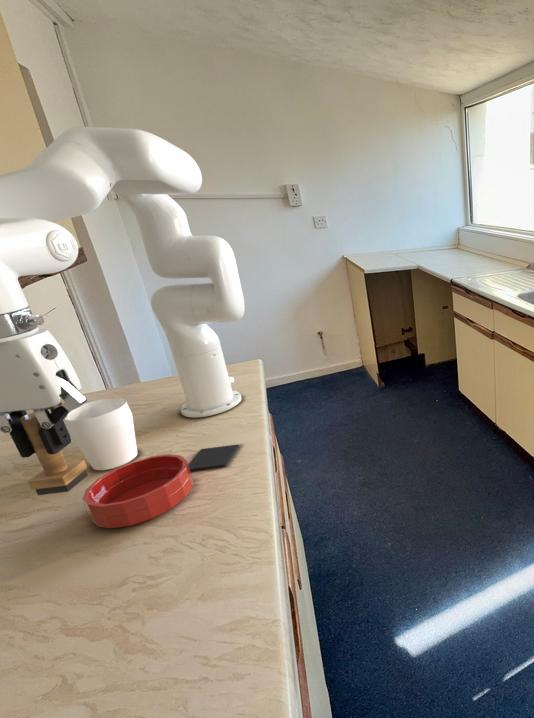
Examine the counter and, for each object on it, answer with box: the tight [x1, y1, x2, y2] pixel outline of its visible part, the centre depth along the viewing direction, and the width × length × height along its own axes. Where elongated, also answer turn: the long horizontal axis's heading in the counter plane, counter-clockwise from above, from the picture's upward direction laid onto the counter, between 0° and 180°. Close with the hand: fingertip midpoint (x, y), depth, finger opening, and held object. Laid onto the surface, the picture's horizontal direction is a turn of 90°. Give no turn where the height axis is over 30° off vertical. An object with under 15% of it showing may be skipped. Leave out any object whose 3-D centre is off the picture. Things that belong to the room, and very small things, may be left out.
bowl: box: [82, 453, 194, 529], centre depth 69 cm, size 13×13×5 cm
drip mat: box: [188, 444, 240, 472], centre depth 81 cm, size 7×7×1 cm
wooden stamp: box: [20, 412, 88, 496], centre depth 56 cm, size 4×4×12 cm
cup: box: [63, 397, 138, 471], centre depth 79 cm, size 9×9×12 cm
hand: (47, 449), depth 56 cm, fingers closed on wooden stamp, 2 cm apart
